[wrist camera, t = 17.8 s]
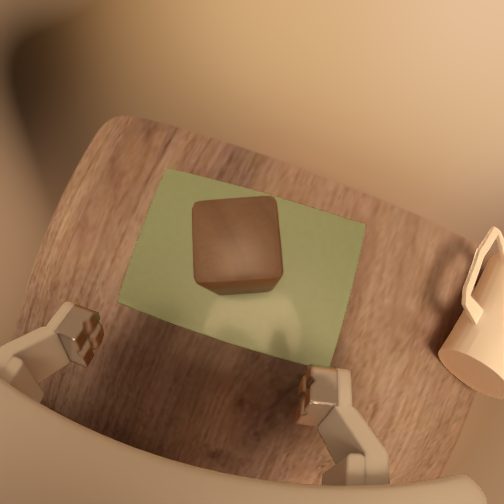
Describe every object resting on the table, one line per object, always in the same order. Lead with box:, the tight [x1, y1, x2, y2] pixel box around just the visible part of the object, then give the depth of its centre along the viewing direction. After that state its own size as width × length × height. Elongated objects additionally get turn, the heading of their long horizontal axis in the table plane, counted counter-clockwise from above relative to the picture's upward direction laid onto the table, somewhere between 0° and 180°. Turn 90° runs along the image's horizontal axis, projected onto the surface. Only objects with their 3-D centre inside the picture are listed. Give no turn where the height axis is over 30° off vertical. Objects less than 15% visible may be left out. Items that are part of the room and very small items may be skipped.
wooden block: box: [192, 196, 283, 295], centre depth 17 cm, size 4×4×8 cm
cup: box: [438, 227, 504, 399], centre depth 19 cm, size 8×12×10 cm
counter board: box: [117, 168, 366, 367], centre depth 23 cm, size 16×11×3 cm
